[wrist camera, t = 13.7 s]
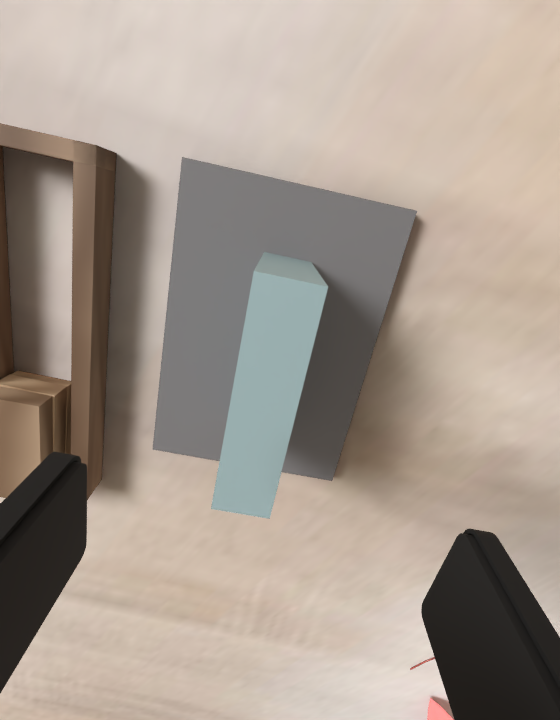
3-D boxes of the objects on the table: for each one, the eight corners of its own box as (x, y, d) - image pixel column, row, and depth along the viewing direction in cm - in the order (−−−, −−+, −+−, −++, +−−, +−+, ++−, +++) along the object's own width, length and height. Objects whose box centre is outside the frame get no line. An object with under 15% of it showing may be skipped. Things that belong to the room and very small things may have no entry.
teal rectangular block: (311, 262, 23) (328, 286, 15) (273, 426, 27) (269, 518, 19) (264, 252, 23) (253, 270, 15) (233, 419, 27) (211, 508, 19)
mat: (411, 211, 23) (417, 210, 22) (330, 472, 30) (332, 481, 29) (186, 159, 22) (182, 157, 21) (156, 442, 29) (152, 449, 28)
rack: (116, 153, 22) (96, 145, 20) (101, 479, 30) (86, 500, 28) (-20, 122, 21) (-57, 110, 19) (3, 462, 30) (-21, 483, 27)
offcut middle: (67, 386, 26) (54, 395, 25) (64, 476, 29) (53, 488, 28) (9, 374, 26) (-6, 383, 25) (12, 465, 29) (-2, 478, 28)
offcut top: (52, 396, 25) (39, 406, 24) (53, 489, 28) (41, 503, 27) (-9, 384, 25) (-26, 394, 23) (-2, 480, 28) (-17, 494, 26)
